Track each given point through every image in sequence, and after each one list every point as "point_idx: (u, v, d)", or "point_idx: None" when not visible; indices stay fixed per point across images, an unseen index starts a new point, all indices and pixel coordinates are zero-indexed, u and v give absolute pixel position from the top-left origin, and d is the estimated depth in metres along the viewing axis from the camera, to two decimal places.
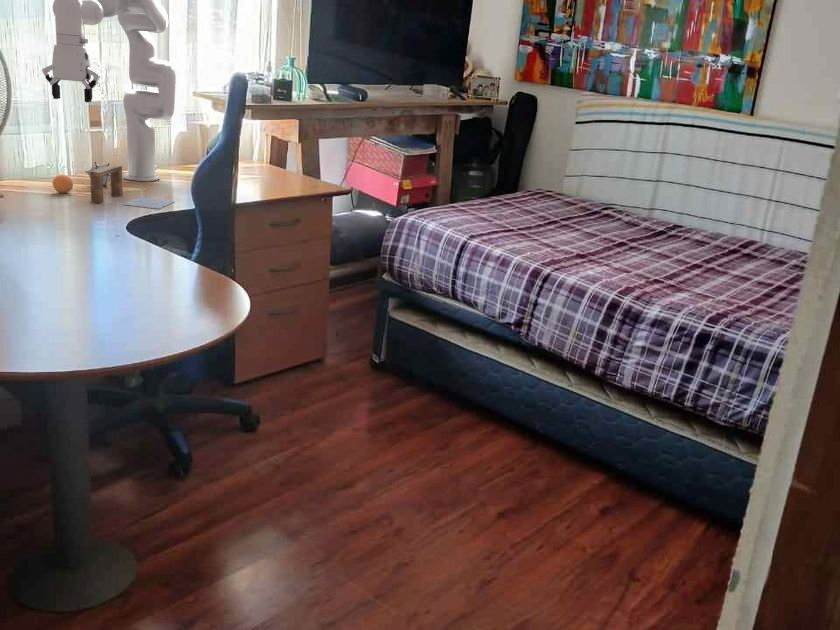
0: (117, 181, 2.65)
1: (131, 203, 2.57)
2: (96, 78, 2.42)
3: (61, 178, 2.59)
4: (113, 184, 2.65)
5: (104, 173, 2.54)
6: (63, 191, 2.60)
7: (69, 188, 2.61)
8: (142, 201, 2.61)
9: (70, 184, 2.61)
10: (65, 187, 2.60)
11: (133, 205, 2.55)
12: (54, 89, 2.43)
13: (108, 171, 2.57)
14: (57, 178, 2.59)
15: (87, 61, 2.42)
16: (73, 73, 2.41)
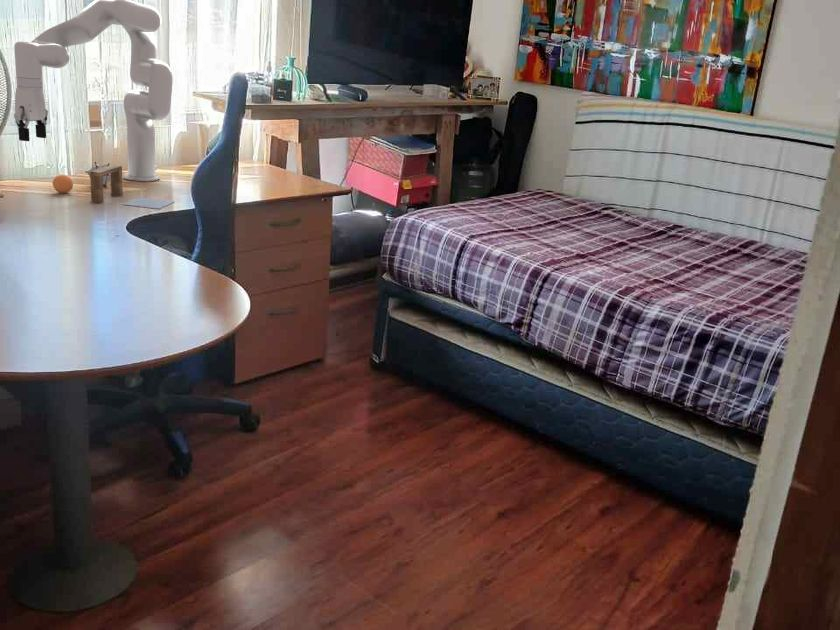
0: (117, 181, 2.65)
1: (131, 203, 2.57)
2: (47, 114, 2.63)
3: (61, 178, 2.59)
4: (113, 184, 2.65)
5: (104, 173, 2.54)
6: (63, 191, 2.60)
7: (69, 188, 2.61)
8: (142, 201, 2.61)
9: (70, 184, 2.61)
10: (65, 187, 2.60)
11: (133, 205, 2.55)
12: (28, 132, 2.53)
13: (108, 171, 2.57)
14: (57, 178, 2.59)
15: None
16: (41, 113, 2.57)
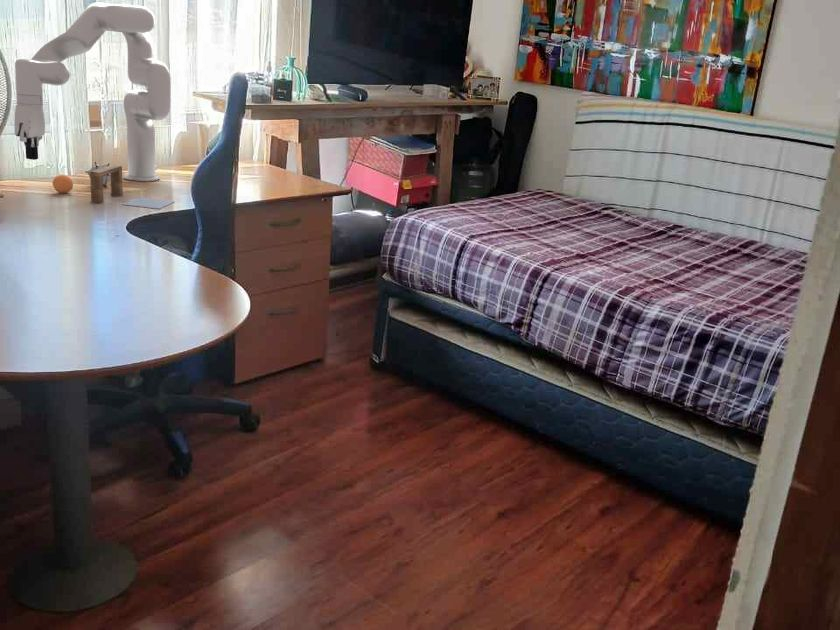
0: (117, 181, 2.65)
1: (131, 203, 2.57)
2: (40, 138, 2.62)
3: (61, 178, 2.59)
4: (113, 184, 2.65)
5: (104, 173, 2.54)
6: (63, 191, 2.60)
7: (69, 188, 2.61)
8: (142, 201, 2.61)
9: (70, 184, 2.61)
10: (65, 187, 2.60)
11: (133, 205, 2.55)
12: (35, 150, 2.58)
13: (108, 171, 2.57)
14: (57, 178, 2.59)
15: None
16: (40, 129, 2.58)
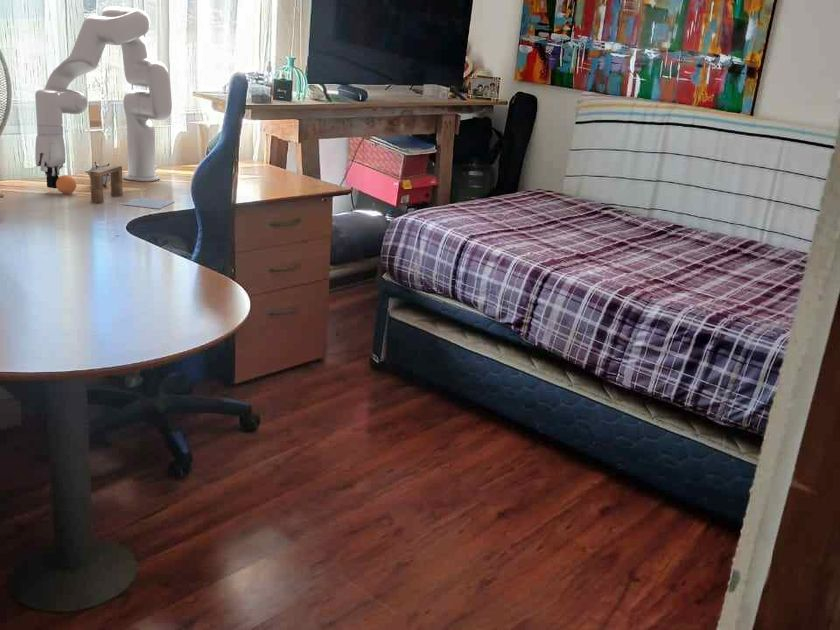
0: (117, 181, 2.65)
1: (131, 203, 2.57)
2: (61, 167, 2.64)
3: (66, 180, 2.59)
4: (113, 184, 2.65)
5: (104, 173, 2.54)
6: (65, 192, 2.60)
7: (72, 190, 2.61)
8: (142, 201, 2.61)
9: (73, 186, 2.61)
10: (68, 189, 2.60)
11: (133, 205, 2.55)
12: (56, 179, 2.61)
13: (108, 171, 2.57)
14: (62, 179, 2.59)
15: None
16: (61, 158, 2.61)
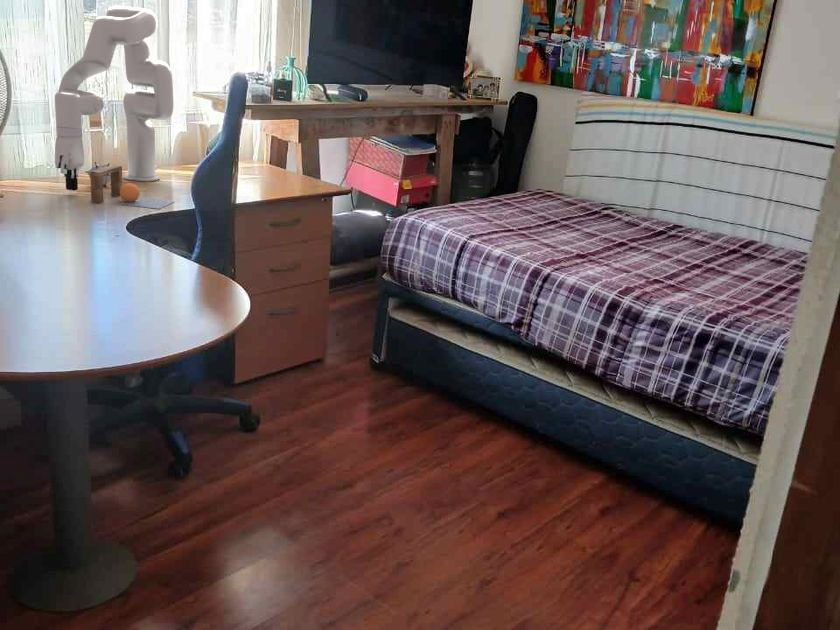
0: (117, 181, 2.65)
1: (131, 203, 2.57)
2: (79, 169, 2.64)
3: (133, 193, 2.57)
4: (113, 184, 2.65)
5: (104, 173, 2.54)
6: (124, 200, 2.58)
7: (130, 201, 2.59)
8: (142, 201, 2.61)
9: (134, 200, 2.59)
10: (128, 200, 2.58)
11: (133, 205, 2.55)
12: (75, 181, 2.60)
13: (108, 171, 2.57)
14: (130, 190, 2.56)
15: None
16: (80, 160, 2.60)
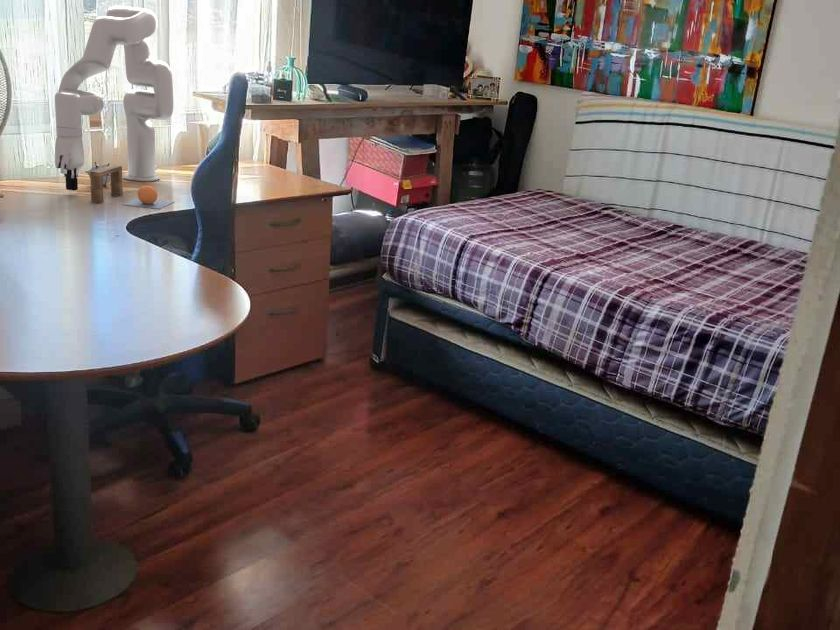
0: (117, 181, 2.65)
1: (131, 203, 2.57)
2: (79, 169, 2.64)
3: (142, 202, 2.57)
4: (113, 184, 2.65)
5: (104, 173, 2.54)
6: (140, 189, 2.56)
7: None
8: None
9: None
10: (138, 193, 2.57)
11: (133, 205, 2.55)
12: (75, 181, 2.60)
13: (108, 171, 2.57)
14: (146, 202, 2.57)
15: None
16: (80, 160, 2.60)
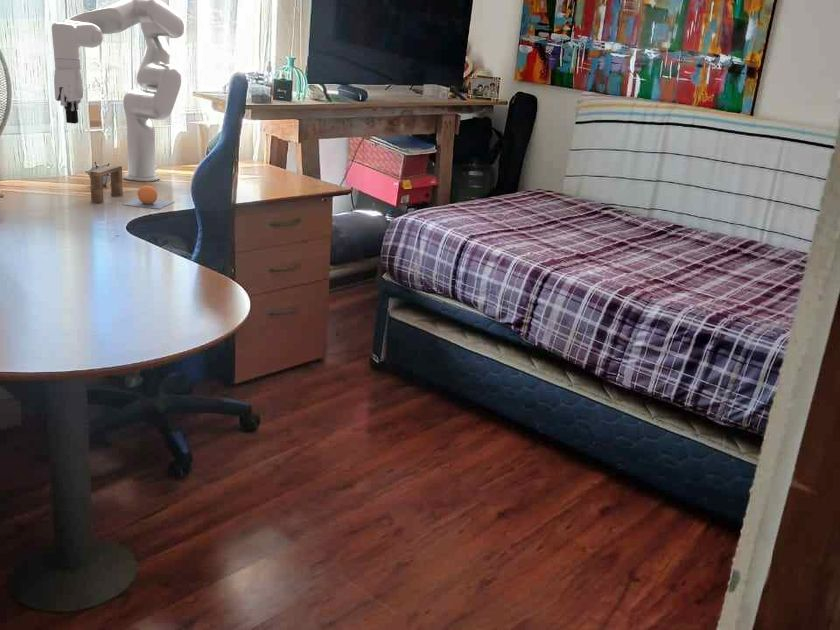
0: (117, 181, 2.65)
1: (131, 203, 2.57)
2: (78, 102, 2.64)
3: (142, 202, 2.57)
4: (113, 184, 2.65)
5: (104, 173, 2.54)
6: (140, 189, 2.56)
7: None
8: None
9: None
10: (138, 193, 2.57)
11: (133, 205, 2.55)
12: (75, 114, 2.61)
13: (108, 171, 2.57)
14: (146, 202, 2.57)
15: None
16: (79, 93, 2.60)
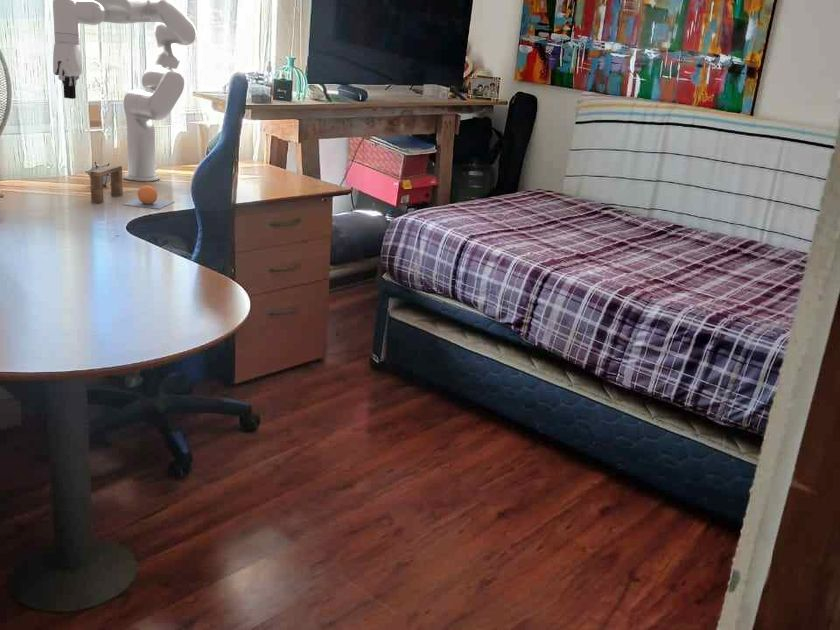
0: (117, 181, 2.65)
1: (131, 203, 2.57)
2: (77, 78, 2.66)
3: (142, 202, 2.57)
4: (113, 184, 2.65)
5: (104, 173, 2.54)
6: (140, 189, 2.56)
7: None
8: None
9: None
10: (138, 193, 2.57)
11: (133, 205, 2.55)
12: (73, 89, 2.63)
13: (108, 171, 2.57)
14: (146, 202, 2.57)
15: None
16: (78, 69, 2.63)
